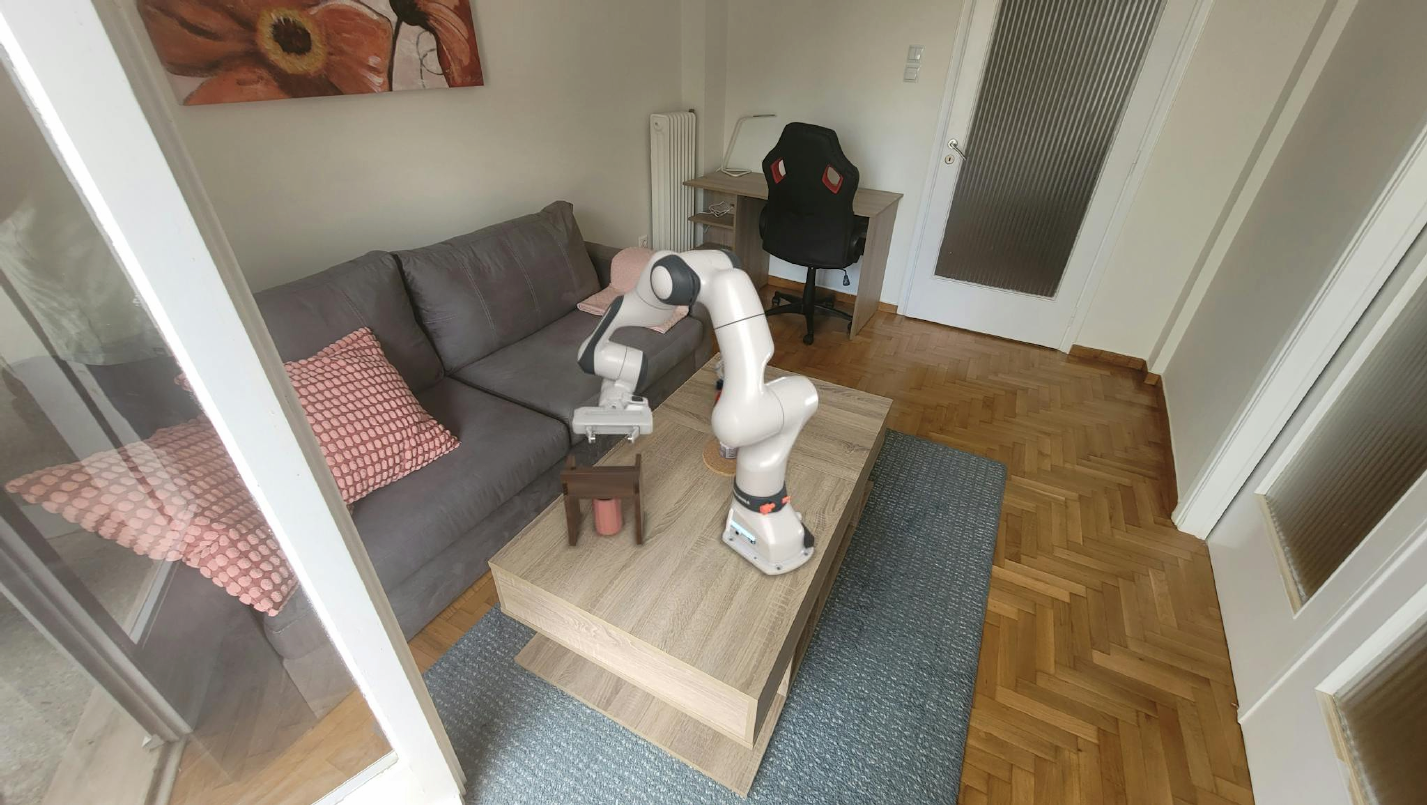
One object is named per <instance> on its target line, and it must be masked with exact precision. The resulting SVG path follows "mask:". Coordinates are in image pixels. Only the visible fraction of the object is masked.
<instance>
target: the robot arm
mask: <svg viewBox="0 0 1427 805" xmlns="http://www.w3.org/2000/svg"><path fill="white" fill-rule="evenodd" d="M696 303H699V304H702V305H703V306H704V307H705V308H706V309H707V311H708V313H709V316H710V320H711V324H712V328H713V330H714V334H715V337H716V341H717V344H718V348H719V352H720V356H721V359H722V360H723V374H724V381H723V388H722V392H721V395H720V398H719V400H718V402H717V404H716V405H715V407H714V406H713V409H712V412H711V417H710V419H711V420H710V423H711V424H710V425H711V429H712V431H713V433H714V435H715V437H716V439H717V440H718V441H719V442H720V443H722V444H723V445H724V446H726V447H727V448H738V451H737V454H736V465H735V466H736V467H735V475H734V477H733V482H732V495H733V497H732V501H731V504H730V507H729V511H728V515H727V518H726V521H725V529H724V531H723V533H722V537H721V541H722V542H723V543H725V544H726V545H727V546H728V547H730V548H731V549H732V550H734V551H735V552H736V553H737V554H739V555H740V556H741V557H742V558H744V559H746V560H747V561H748V562H750V563H751V564H752V565H754V566H755V567H756V568H758V569H759V570H760V571H761V572H763V573H764V574H765V575H767V576H777V575H784V574H786V573H788V572H789V573H790V572H791V571H794V570H795V569H798V568H799V567H801V566H803V565H804V564H805V563H807V562H808V561H809V560H810V559H811V558H812V556H813V555H814V551H815V548H814V545H815V537H814V535H813V533H812V532H811V531H810V530H809V528H807V526H806V525H805V524H804V523H803V522H801V521H802V519H803V515H802V514H801V512H800V511H795V510H794V508H793V506H792V504H791V497H792V495H788V489H787V485H786V480H785V476H786V471H787V464H788V460H789V456H790V453H791V452H792V449H793V446H794V444H795V442H796V440H797V438H798V437H799V435H800V433H801V431H802V429H803V428H804V426H805V425H806V424H807V422H808V421H809V420H810V418H811V417H813V415H814V414H815V413H816V412H817V410H818V407H819V394H818V391H817V389H816V387H815V385H814V384H813V382H812V381H811V380H810V379H809V378H808V377H806V376H804V375H799V374H797V375H788V376H781V377H777V378H775V379H772V380H769V381H766V382H765V379H764V378H765V371H766V366H767V365H768V363H769V362H770V360H771V359H772V357H773V355H774V353H775V343H774V341H773V336H772V334H771V329H770V327H769V324H768V320H767V317H766V314H765V310H764V307H763V305H762V302H761V299H760V296H759V295H758V292H757V290H756V288H755V286H754V283H753V282H752V280H751V278H750V276H749V274H747V272H745V271H744V270H743V266H742V263H741V261H740V258H739V257H738V256H737V255H736V254H735V252H733V251H731V250H729V249H724V248H712V249H691V250H686V251H681V252H676V251H674V250H671V249H662V250H661V249H660V250H658V251H656V252H654V253H653V254H652V256H651V257H650V258H649V259H648V261H647V263H646V264H645V266H644V267H643V269H642V270H641V273H640V275H639V277H638V279H637V281H636V284H635V286H634V287H633V288H632V289H631V290H630V291H629V292H627V293H625V294H621V295H617V296H616V297H615V298H614V299H613V300H612V301H611V303H610V304H609V305H608V306H607V308H606V310H605V311H604V312H603V314H602V316H601V317H600V318H599V320H598V322H597V323H596V325H595V326H594V328H593V329H592V331H591V332H590V333H589V335H588V336H587V337H586V339H585V340H584V341H583V342H582V344H581V345H580V347H579V349H578V353H577V361H576V362H577V364H578V366H579V368H580V369H581V370H582V372H583V373H584V374H589V375H593V376H599V377H602V378H603V379H602V382H601V387H600V395H599V399H598V405H597V406H580V407H579V408H575V409H574V411H573V418H572V422H571V428H572V431H573V433H575V435H585V436H586V437H587V439H588V443H589V444H596V440H597V438H596V435H627V444H634V443H635V440H636V439H637V438H638V437H639V436H640V435H651V434H652V433H653V432H654V418H653V412H652V409H651V408H650V406H649V400H648V398H647V397H642V396H638V395H634V393H636V392H637V391H639V390H640V389H641V388H642V387H643V386H644V384H645V381H646V379H647V375H648V369H649V360H648V357H647V355H646V353H645V352H644V351H643V350H640V349H637V348H634V347H631V346H628V345H624V344H621V343H617V342H614V341H611V340H609V339H610V338H611V336H612V335H613V334H614V332H615V331H616V330H617V329H619V328H624V327H641V328H656V327H659V326H662V325H664V324H666V323H667V322H668V321H670V320H671V319H672V317H673V315H675V313H676V311H677V309H678V307H693V306H694V305H695V304H696Z"/></svg>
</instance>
